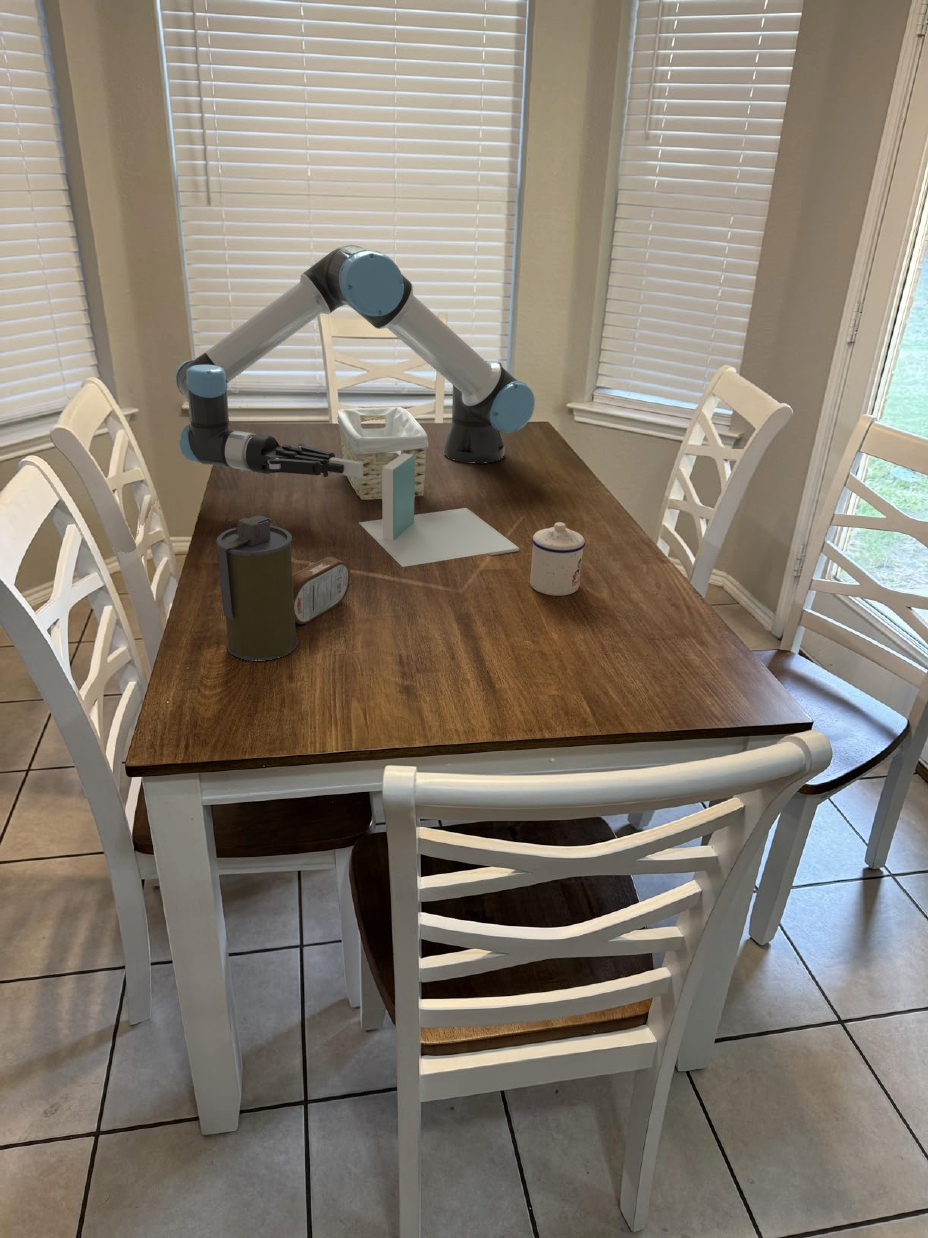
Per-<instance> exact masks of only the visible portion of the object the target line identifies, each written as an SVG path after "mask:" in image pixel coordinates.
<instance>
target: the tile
mask: <svg viewBox="0 0 928 1238" xmlns="http://www.w3.org/2000/svg"><path fill="white" fill-rule="evenodd" d="M414 493H415V455H412V454H405V453H403V454H401V455H400V456H398V457H397V458H396V459H394V460H393V461H391V462H390V463H388V464H387V465H386V466H384V467H383V468H382V499H381V500H382V502H381V503H382V506H381V507H382V508H381V509H382V514H381V515H382V519H383V538H386V539H392V540H395V539H396V538H397V537H398V536H400V535H401V534H402V533H403V532H404V531H405V530H406V529H407V528H409V527H410V526H411V525H412V524H413V523H414V515H415V496H414Z"/></svg>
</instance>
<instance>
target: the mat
mask: <svg viewBox="0 0 928 1238" xmlns="http://www.w3.org/2000/svg"><path fill="white" fill-rule="evenodd" d="M358 524H359V525H360V526H361V527H362V528H363V529H364V530H365V531H366V532H367V533H368V534H369V535H370V536H371V537H372V538H373V539H374V540H375V541H376V542H377V543H378V544H379V545H380V546H381V547H382V549H384V550H385V552H386V553H388V555H390V556H391V557H392V558H393V560H395V561H396V563H398V564H399V566H401V567H402V568H406V567H411V566H418V565H425V564H431V563H435V562H436V563H437V562H443V561H449V560H455V559H460V558H467V557H473V556H479V555H480V556H481V555H484V554H486V555H487V554H488V555H487V556H489V557H490V556H496V555H501V554H508V553H514V552H520V547H518V546H517V545H516V544H515V543H513V542H512V541H510V540H509V539H508V538H507V537H505V536H504V535H503V534H502V533H500V532H499V531H497V530H496V529H495V528H493V527H492V526H491V525H489V524H488V523H487V522H486V521H484V520H483V519H481V517H479V516H478V515H476V514H475V513H474V512H473V511H471V510H470V509H468V508H467V507H463V508H456V509H448V510H442V511H440V510H439V511H431V512H426V513H418V514H414V523H413V524H412V525H411V526H410V527H409V528H407V529H406V530H405V531H404V532H403V533H402V534H401V535H400V536H398V537H397V538H396V539H395V540H392V539H386V538H383V518H381V519H374V520H367V521H362V522H361V521H359V522H358Z"/></svg>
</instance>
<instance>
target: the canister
mask: <svg viewBox="0 0 928 1238" xmlns="http://www.w3.org/2000/svg"><path fill="white" fill-rule="evenodd" d="M272 522H273V519H272V518H269V517H267V516H264V515H262V514H259V515H255V516H252V517H251V516H250V517H249V518H247V517H245V518H241V519H239V520H237V526H236V527H232V528H229V529H227V530H225V531H223V532H222V533H221V534H219V536H218V537H217V538H216V542H215V543H216V550H217V551H216V552H217V561H218V570H219V571H218V572H219V581H220V591H221V601H222V612H223V617H225V622H226V623H225V624H226V633H227V643H226V647H227V648H226V649H227V651H228V653H229V654H230V655H232V654H233V655H234V656H236V657H239V658H242V659H244V660H243V661H245V660H254V661H255V660H257V661H258V660H270V659H276V658H278V657H282V658H284V657H286V656H285V655H286V654H289V653H290V654H291V653H293V652H294V651H295V650H296V649H297V647H298V644H299V639H298V636H297V634H296V633H297V631H296V623H295V612H294V594H293V577H292V575H293V564H292V563H293V562H292V547H291V545H292V541H293V536H292V534H291V533H290V532H289V531H288V530H286V529H285V528H282V527H279V526H274V525H271V524H270V523H272ZM296 646H297V647H296ZM295 648H296V649H295ZM293 650H294V651H293ZM292 651H293V652H292ZM290 654H289V655H290ZM233 655H232V656H233ZM234 656H233V657H234ZM283 656H284V657H283ZM236 657H235V658H236ZM239 658H238V659H239ZM242 659H241V660H242ZM276 660H277V659H276Z"/></svg>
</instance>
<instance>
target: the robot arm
mask: <svg viewBox="0 0 928 1238" xmlns="http://www.w3.org/2000/svg"><path fill="white" fill-rule="evenodd" d="M413 288H414V286H413V283H412V282H411V281H409V279H408V278H407V277H406V276H405V275H403V274H402V272H401V270H400V268H399V267H398V265H397V264H396V262H395V260H393V259H391V257H389V256H388V255H386V254H384V253H383V252H381V251H378V250H373V249H367V248H364V247H362V246H359V245H354V244H348V245H342V246H341V247H340V246H339V247H337V248H335V249H333V250H332V251H330V252H329V253H328V254H326V255H325V256H323V257H322V258H321V259H320V260H318V261H317V262H316V263H315V264H313V265H311V266H310V267H309V268H308V269H307V270H305V271H304V272H302V273H301V274H300V280H299V282H298V283H297V284H295V285H294V286H293V287H291V288H290V289H288V290H287V291H286V292H284V293H283V294H282V295H280V296H279V297H278V298H276V299H275V300H274V301H272V302H271V303H270V304H268V305H267V306H265V307H264V308H263V309H262V310H260V311H259V312H258V313H256V314H254V315H253V316H252V317H251V318H249V319H248V320H246V321H245V322H244V323H242V324H241V325H240V326H238V327H237V328H236V329H234V330H233V331H232V332H230V333H229V334H228V335H226V336H225V337H224V338H222V339H221V340H220V341H218V342H217V343H216V344H214V345H213V346H212V347H211V348H209V349H207V350H206V351H205V352H204V353H201V354H200V355H199V356H198V357H196V358H195V359H189V360H185V361H183V362H182V363H180V364H179V366H178V367H177V369H176V371H175V377H174V378H175V382H176V386H177V389H178V390H179V392H180V394H181V395H182V396H184V398H185V399H186V401H187V402H188V407H189V419H190V424H189V423H188V424H187V425H185V426H184V427H183V429H182V430H181V433H180V439H179V443H178V444H179V449H180V453H181V454H182V456H183V457H184V458H185V459H187V460H189V461H192V462H196V463H200V464H202V465H211V466H218V467H224V468H231V469H236V470H239V471H240V472H242V473H244V472H245V471H250V472H253V473H259V474H264V475H267V474H268V475H269V474H277V473H279V474H281V473H282V474H283V473H284V474H294V475H295V474H296V475H311V476H321V475H323V478H326V477H327V478H328V477H329V474H335V475H342V476H346V477H347V476H352V477H358V478H360V477H361V476H363V462H359V461H353V460H346V459H343V458H339V457H336V454H335V453H334V452H329V451H325V450H322V449H318V448H314V447H311V446H310V447H309V446H307V445H306V444H304V443H299V444H297V447H292V445H288V444H287V445H286V444H284V445H280V444H279V442H278V441H277V439H276V438H275V437H274V436H272V435H267V434H260V433H257V434H256V433H254V432H247V431H242V430H241V431H240V430H233V429H230V418H229V417H230V415H229V405H228V404H229V403H228V400H229V399H228V387H229V386H228V384H229V383H230V382H231V381H233V380H234V379H235V378H237V376H239V375H240V374H242V373H243V372H244V371H246V370H247V369H248V368H251V366H252V365H254V364H255V363H257V362H258V361H259V360H261V359H262V358H263V357H265V356H266V355H267V354H269V353H271V352H272V351H273V350H274V349H276V348H277V347H278V346H281V344H282V343H284V342H286V340H288V339H289V338H291V337H292V336H293V335H295V334H296V333H297V332H299V331H300V330H301V329H303V328H304V327H306V325H308V324H309V323H311V322H313V320H315V319H316V318H318V317H319V316H320V315H323V314H325V315H330V314H331V313H333V312H334V311H335V310H337V309H339V308H341V307H343V306H349V308H351V309H353V310H354V311H355V312H356V313H357V314H359V315H360V316H361V317H362V318H363V319H365V321H367V322H368V323H369V324H370V325H371V326H373V328H375V329H377V330H380V329H387V330H389V331H390V332H391V333H392V334H393V335H394V336H396V337H397V338H398V340H400V341H401V342H403V344H405V345H406V346H407V347H409V348H410V349H411V350H412V351H413V352H414V353H415V354H417V356H419V357H420V358H421V359H422V360H424V361H425V362H426V364H428V365H430V366H431V367H432V368H433V369H434V370H435V371H437V373H439V374H440V375H441V376H442V377H443V378H444V379H445V380H447V381H448V382H449V383H450V384H452V402H451V403H452V408H451V409H452V411H451V414H452V415H451V424H450V428H449V430H448V434H447V437H446V439H445V442H444V446H443V455H444V454H445V455H446V456H447V457H449V458H450V460H451V459H455V460H458V461H462V462H461V463H463V462H475V463H482V464H485V463H484V462H492V463H495V462H494V461H496V462H498V461H497V460H499V459H501V460H502V458H503V459H504V457H505V444H504V440H503V438H502V434H501V432H503V433H505V434H511V433H515V432H518V431H520V430H522V428H524V427H525V426H527V424H529V422H530V420H531V419H532V417H533V414H534V411H535V403H536V401H535V400H536V399H535V394H534V392H533V390H532V389H531V388H530V387H529V386H528V385H527V384H526V383H525V382H523V381H521V380H520V381H519V380H518V379H516V378H515V377H514V376H513V375H511V373H509V371H507V370H506V369H505V368H504V367H503V364H502V362H500V361H497V360H488V359H487V360H485V359H484V358H483V357H481V355H480V354H478V353H477V352H476V350H474V349H473V348H472V347H470V345H468V343H466V341H464V340H463V339H462V337H460V336H458V334H456V333H455V332H454V331H453V330H452V328H450V327H449V326H448V325H447V324H446V323H444V321H442V320H441V319H440V318H439V317H438V316H437V315H436V314H435V313H434V312H433V311H431V310H430V309H429V308H428V307H427V306H426V305H425V304H424V303H422V301H420V300H419V299H418V298H417V297H416V296H415V295H414V291H413V290H414V289H413ZM445 455H444V456H445ZM446 456H445V457H446ZM503 456H504V457H503ZM447 457H446V458H447ZM449 458H448V459H449ZM458 461H457V462H458ZM499 461H500V460H499Z"/></svg>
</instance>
